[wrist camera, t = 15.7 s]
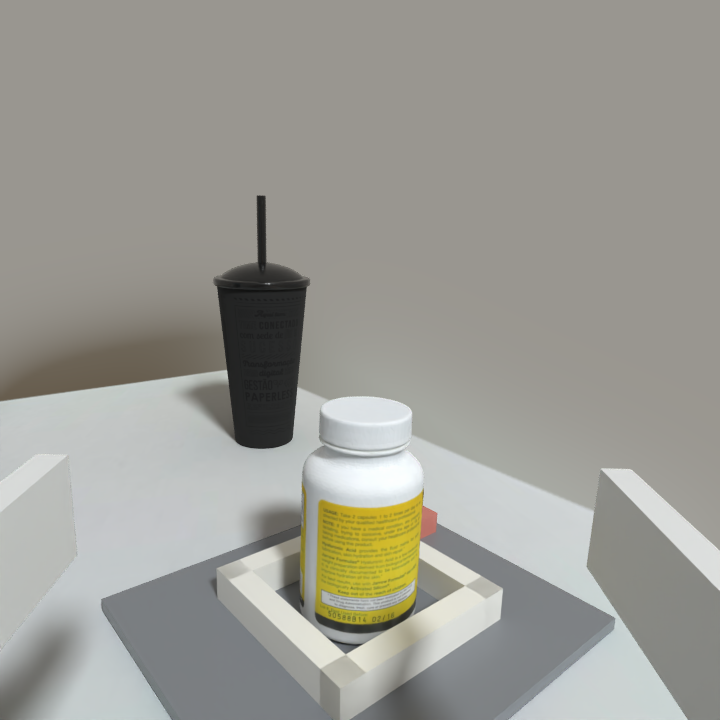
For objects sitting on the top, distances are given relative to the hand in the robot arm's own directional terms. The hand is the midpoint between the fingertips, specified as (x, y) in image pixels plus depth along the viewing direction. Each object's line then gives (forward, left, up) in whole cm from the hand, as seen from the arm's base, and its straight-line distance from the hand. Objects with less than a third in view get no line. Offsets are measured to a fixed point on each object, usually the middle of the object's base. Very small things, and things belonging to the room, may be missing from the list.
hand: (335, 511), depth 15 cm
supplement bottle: (-8, +8, -11) cm, 15 cm away
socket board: (-8, +8, -11) cm, 16 cm away
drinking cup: (-31, +17, -11) cm, 37 cm away
